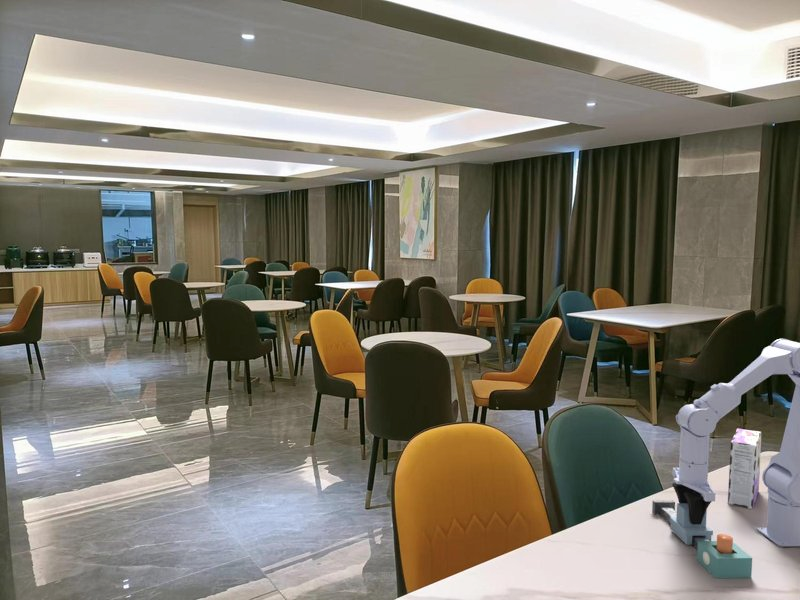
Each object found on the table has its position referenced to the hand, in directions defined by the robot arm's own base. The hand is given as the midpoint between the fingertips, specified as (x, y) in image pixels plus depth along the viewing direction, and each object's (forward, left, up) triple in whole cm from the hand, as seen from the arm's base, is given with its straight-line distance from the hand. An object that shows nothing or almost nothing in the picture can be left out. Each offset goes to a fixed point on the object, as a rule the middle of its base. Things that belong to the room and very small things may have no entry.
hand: (691, 519), depth 133 cm
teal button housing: (0, +13, -4) cm, 14 cm away
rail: (0, -2, -4) cm, 5 cm away
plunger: (0, +13, -2) cm, 13 cm away
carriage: (0, 0, -4) cm, 4 cm away
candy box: (-25, -21, -4) cm, 33 cm away
